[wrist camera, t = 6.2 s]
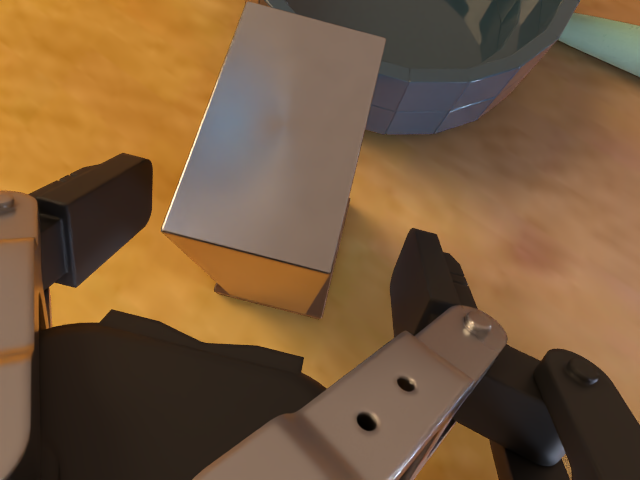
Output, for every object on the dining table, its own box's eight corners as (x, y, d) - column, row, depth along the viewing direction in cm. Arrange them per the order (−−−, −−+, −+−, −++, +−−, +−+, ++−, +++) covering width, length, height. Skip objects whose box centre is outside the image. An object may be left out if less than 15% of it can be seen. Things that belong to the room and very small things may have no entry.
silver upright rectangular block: (320, 319, 18) (367, 284, 8) (216, 293, 18) (121, 221, 8) (348, 203, 20) (417, 45, 9) (252, 178, 20) (215, -9, 9)
